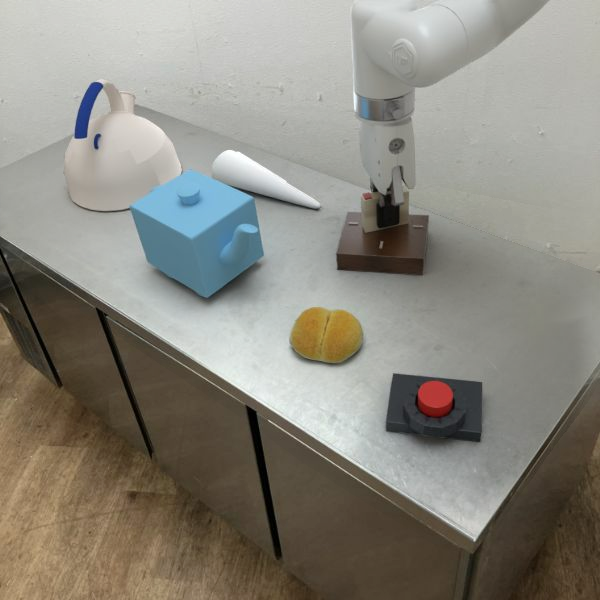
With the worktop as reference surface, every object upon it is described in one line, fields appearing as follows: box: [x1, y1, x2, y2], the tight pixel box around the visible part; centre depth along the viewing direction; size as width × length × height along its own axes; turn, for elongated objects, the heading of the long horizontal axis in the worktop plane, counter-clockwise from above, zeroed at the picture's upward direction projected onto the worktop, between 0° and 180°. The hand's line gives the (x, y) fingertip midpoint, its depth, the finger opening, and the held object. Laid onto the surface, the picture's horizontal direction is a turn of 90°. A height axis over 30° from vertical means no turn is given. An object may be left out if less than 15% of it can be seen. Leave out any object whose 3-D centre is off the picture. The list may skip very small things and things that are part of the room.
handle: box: [360, 185, 410, 233], centre depth 91 cm, size 6×2×6 cm, turn 103°
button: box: [418, 381, 453, 418], centre depth 69 cm, size 4×4×2 cm
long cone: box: [210, 149, 322, 210], centre depth 106 cm, size 6×6×19 cm
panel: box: [335, 211, 430, 276], centre depth 94 cm, size 12×12×3 cm
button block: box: [385, 373, 483, 443], centre depth 71 cm, size 10×8×4 cm
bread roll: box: [288, 306, 364, 364], centre depth 80 cm, size 8×9×4 cm
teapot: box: [129, 168, 265, 299], centre depth 89 cm, size 22×11×14 cm, turn 48°
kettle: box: [63, 78, 183, 212], centre depth 110 cm, size 20×21×18 cm
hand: (385, 220), depth 93 cm, fingers closed on handle
